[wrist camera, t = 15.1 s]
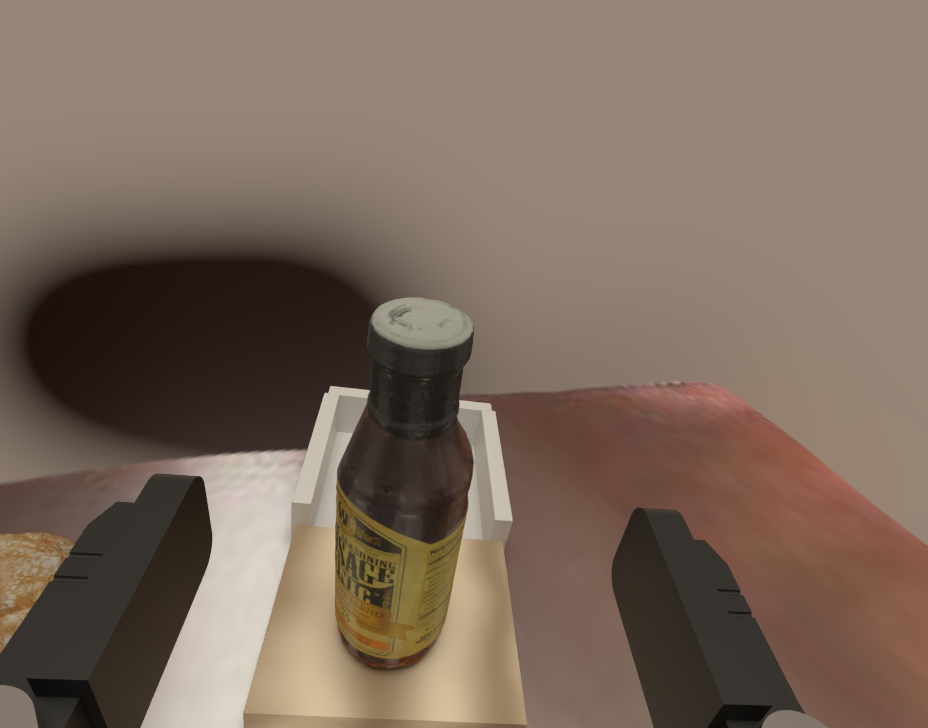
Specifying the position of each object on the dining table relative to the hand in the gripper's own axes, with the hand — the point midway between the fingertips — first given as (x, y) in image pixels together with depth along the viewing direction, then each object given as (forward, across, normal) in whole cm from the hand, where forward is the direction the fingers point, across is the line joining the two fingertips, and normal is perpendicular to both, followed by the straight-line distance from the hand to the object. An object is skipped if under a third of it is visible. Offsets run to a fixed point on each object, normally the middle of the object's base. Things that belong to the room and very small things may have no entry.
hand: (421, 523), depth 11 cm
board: (+13, 0, +24) cm, 28 cm away
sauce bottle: (+12, 0, +22) cm, 25 cm away
